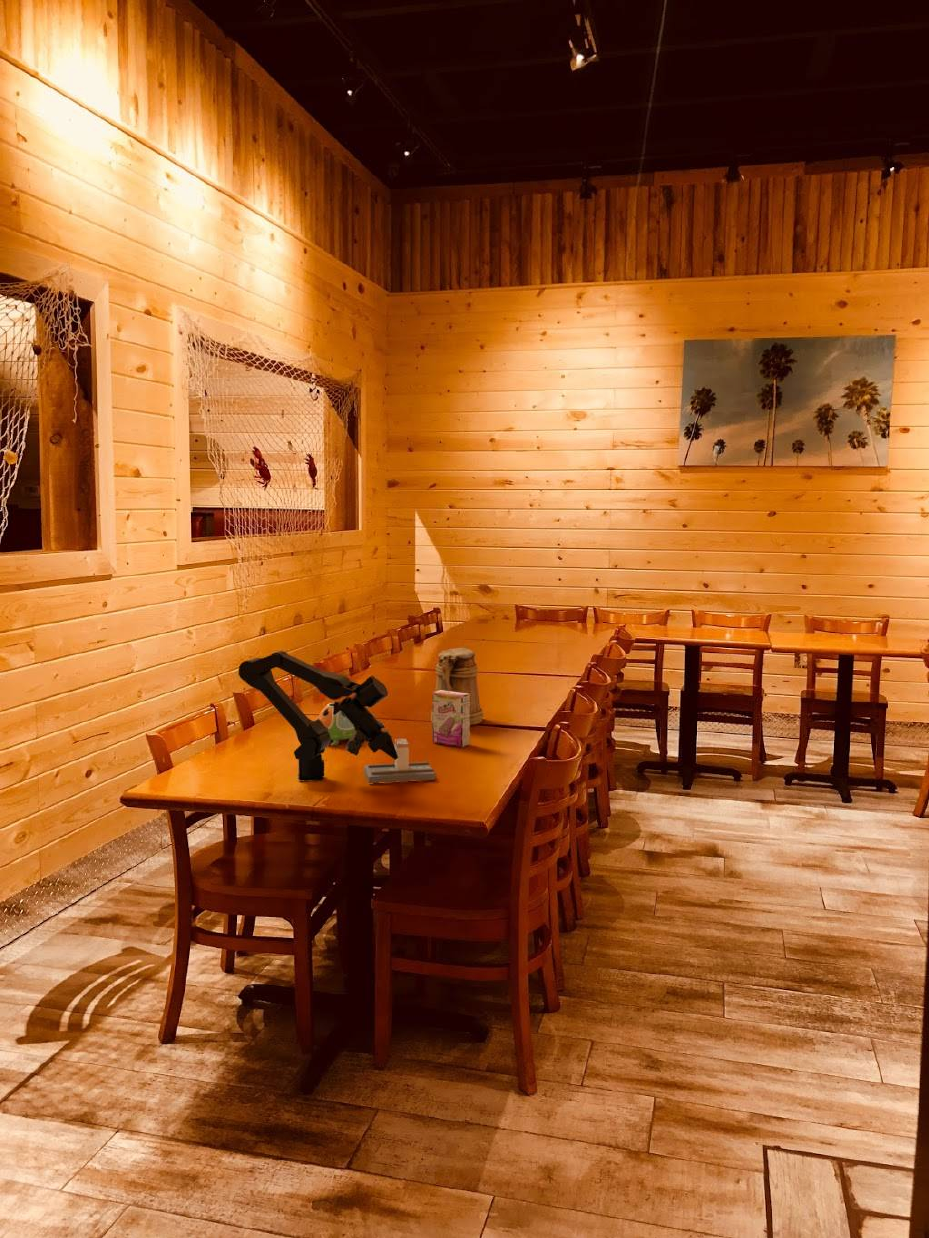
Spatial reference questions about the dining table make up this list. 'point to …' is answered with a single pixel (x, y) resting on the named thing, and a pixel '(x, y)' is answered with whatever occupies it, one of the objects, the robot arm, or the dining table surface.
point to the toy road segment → (398, 772)
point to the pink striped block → (402, 754)
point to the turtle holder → (336, 724)
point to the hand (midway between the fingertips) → (396, 758)
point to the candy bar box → (451, 718)
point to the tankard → (460, 678)
